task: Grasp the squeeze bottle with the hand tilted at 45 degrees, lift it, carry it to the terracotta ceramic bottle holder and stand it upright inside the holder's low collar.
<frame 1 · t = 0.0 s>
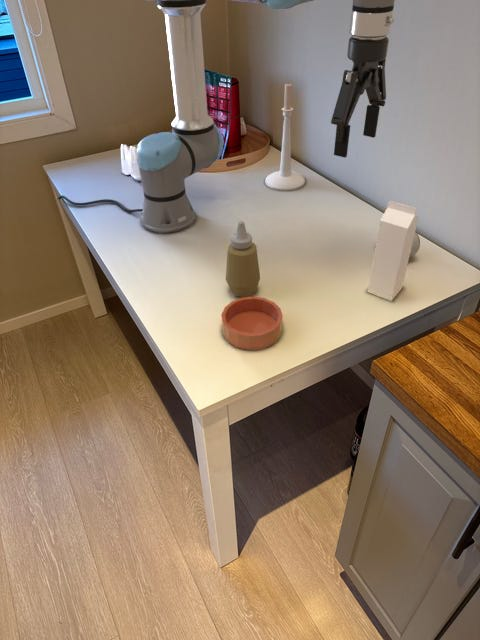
hand: (355, 145, 107), 28 cm above the table, tool pointing down, fingers open, 13 cm apart
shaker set: (135, 177, 164), on the table
holder: (252, 329, 104), on the table
squeeze bottle: (243, 290, 115), on the table
milk: (384, 290, 113), on the table
ceramic mug: (391, 255, 124), on the table
candlestick: (285, 182, 158), on the table
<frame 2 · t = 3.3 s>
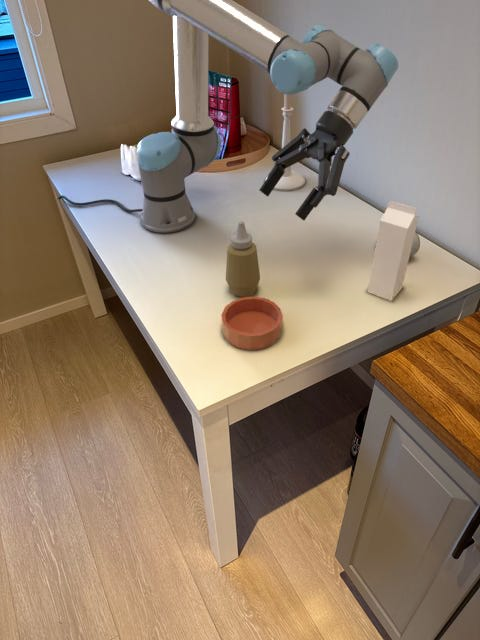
hand: (280, 205, 106), 19 cm above the table, tool tilted 45°, fingers open, 13 cm apart
nothing on the table moved.
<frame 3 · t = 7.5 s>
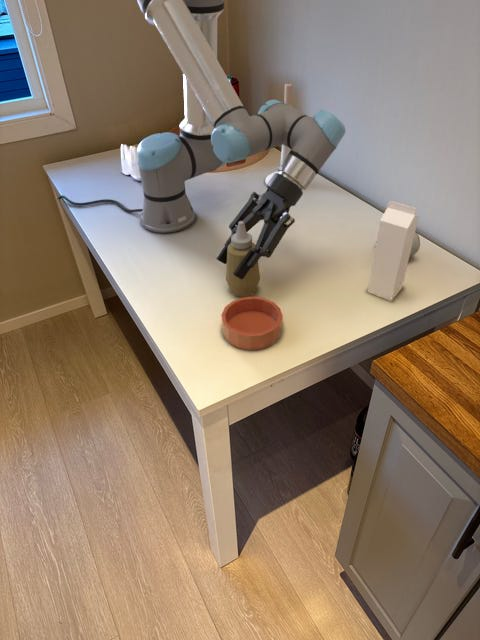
hand: (229, 268, 108), 7 cm above the table, tool tilted 45°, fingers closed on squeeze bottle, 6 cm apart
squeeze bottle: (243, 290, 115), on the table, touching gripper
everything else where it was.
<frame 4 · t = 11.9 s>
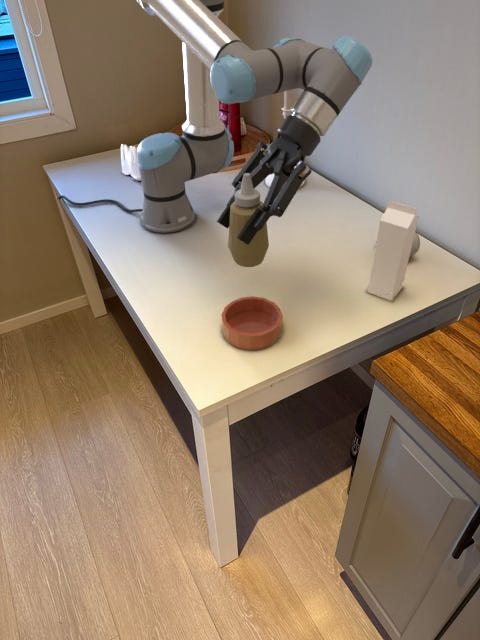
hand: (232, 232, 91), 23 cm above the table, tool tilted 45°, fingers closed on squeeze bottle, 6 cm apart
squeeze bottle: (248, 260, 97), point 15 cm above the table, touching gripper
everything else where it was.
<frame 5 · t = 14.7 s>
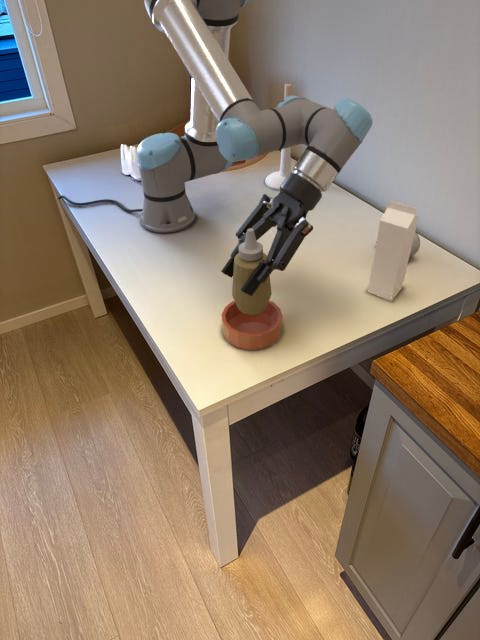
hand: (236, 283, 94), 14 cm above the table, tool tilted 45°, fingers closed on squeeze bottle, 6 cm apart
squeeze bottle: (252, 307, 100), point 6 cm above the table, touching gripper
everything else where it was.
when the fingers open (8 cm above the table, at t = 16.7 s): squeeze bottle stays where it is, resting on holder.
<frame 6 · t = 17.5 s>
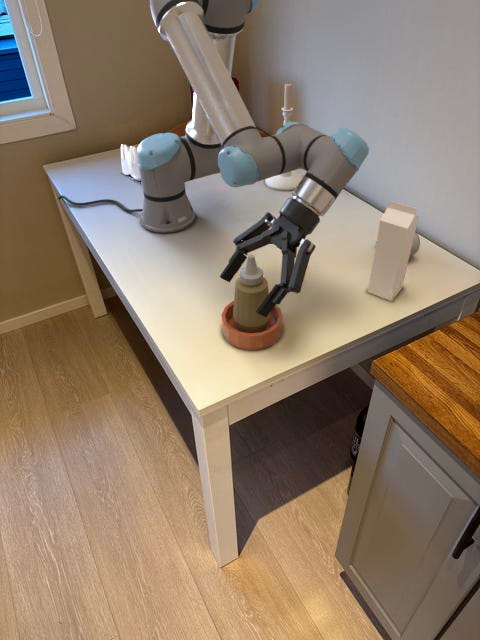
hand: (241, 296, 97), 10 cm above the table, tool tilted 45°, fingers open, 13 cm apart
squeeze bottle: (252, 327, 104), resting on holder
everything else where it was.
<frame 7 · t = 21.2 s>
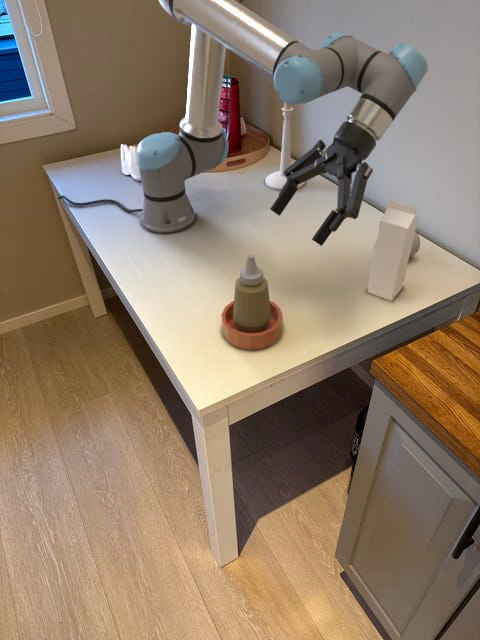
hand: (294, 227, 95), 21 cm above the table, tool tilted 45°, fingers open, 13 cm apart
nothing on the table moved.
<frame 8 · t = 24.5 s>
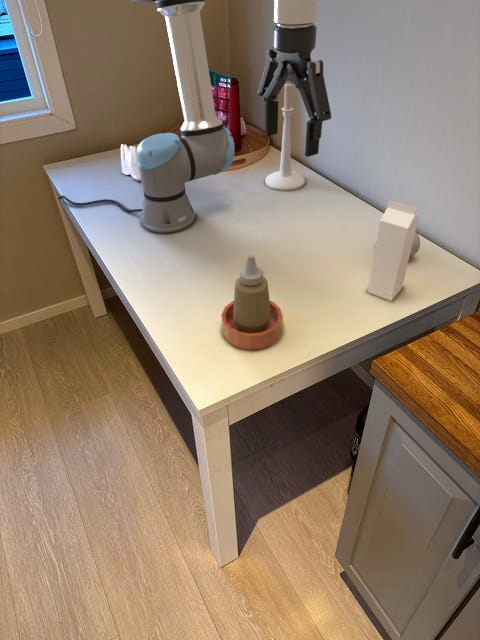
hand: (290, 144, 99), 32 cm above the table, tool pointing down, fingers open, 13 cm apart
nothing on the table moved.
at the end: squeeze bottle 0.0 cm off-centre in the holder, point 0.4 cm above the holder's base; squeeze bottle tilted 0°; the gripper is holding nothing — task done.
